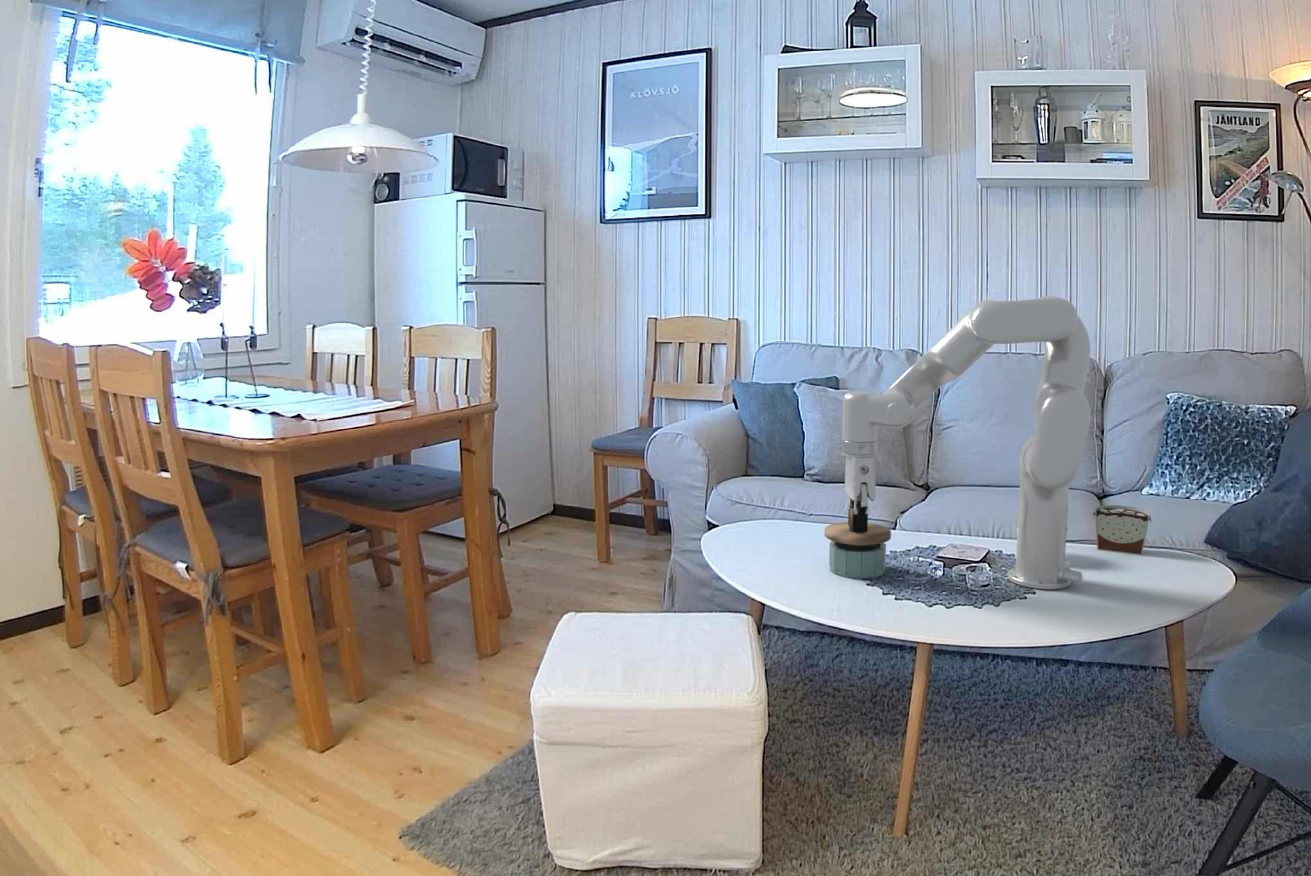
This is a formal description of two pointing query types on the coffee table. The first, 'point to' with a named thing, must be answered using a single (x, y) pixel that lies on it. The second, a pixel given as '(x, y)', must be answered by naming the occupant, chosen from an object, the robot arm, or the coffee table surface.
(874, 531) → the lid
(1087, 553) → the coffee table surface
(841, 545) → the bowl
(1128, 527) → the food container
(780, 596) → the coffee table surface
